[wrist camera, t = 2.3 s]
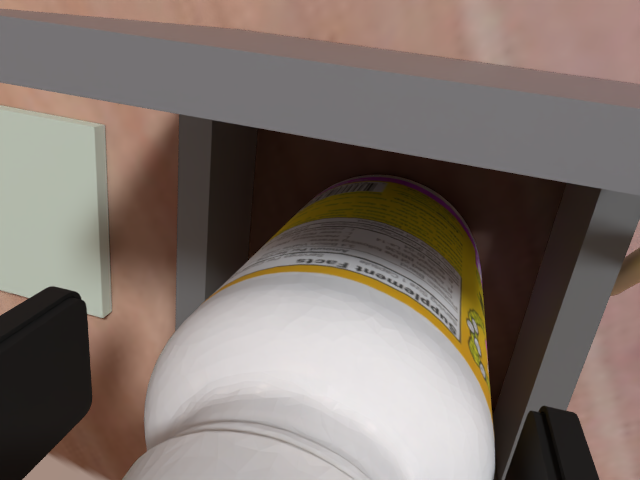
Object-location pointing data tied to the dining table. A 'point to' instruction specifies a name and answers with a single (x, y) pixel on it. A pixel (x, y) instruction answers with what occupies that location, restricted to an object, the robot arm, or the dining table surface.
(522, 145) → the case
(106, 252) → the rest pad
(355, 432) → the supplement bottle
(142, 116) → the dining table surface
